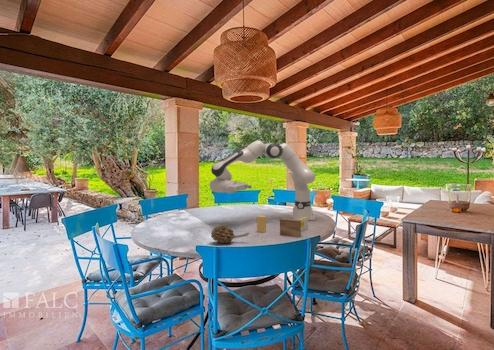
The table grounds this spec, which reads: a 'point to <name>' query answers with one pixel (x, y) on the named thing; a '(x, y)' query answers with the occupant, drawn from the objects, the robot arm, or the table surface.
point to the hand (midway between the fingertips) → (248, 187)
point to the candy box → (304, 224)
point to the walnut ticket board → (290, 227)
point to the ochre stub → (261, 223)
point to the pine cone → (224, 234)
